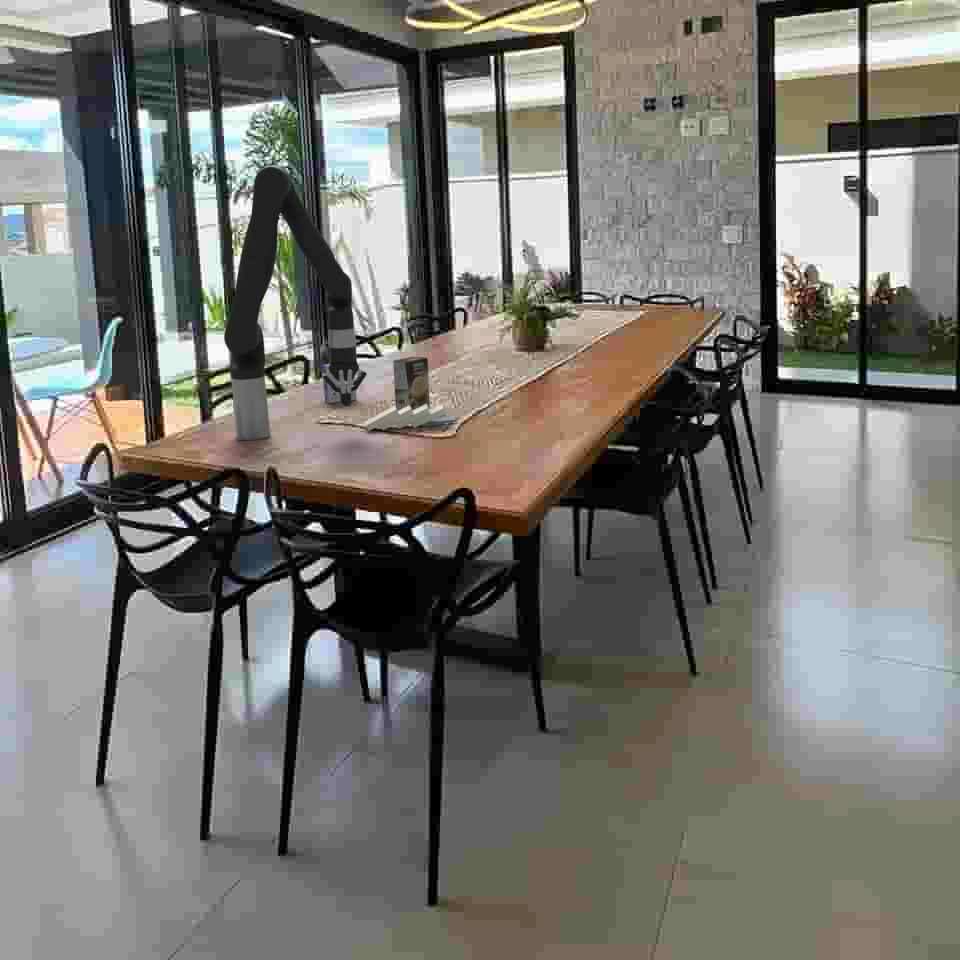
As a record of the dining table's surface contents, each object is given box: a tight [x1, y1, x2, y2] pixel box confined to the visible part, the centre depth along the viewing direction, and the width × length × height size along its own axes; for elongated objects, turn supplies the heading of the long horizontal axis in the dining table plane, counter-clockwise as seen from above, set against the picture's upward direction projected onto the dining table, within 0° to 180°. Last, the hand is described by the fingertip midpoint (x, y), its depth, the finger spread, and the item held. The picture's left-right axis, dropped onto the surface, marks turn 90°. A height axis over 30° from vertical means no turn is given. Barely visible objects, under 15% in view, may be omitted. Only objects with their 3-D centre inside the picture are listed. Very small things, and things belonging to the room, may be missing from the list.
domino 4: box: [411, 403, 447, 429], centre depth 315 cm, size 2×5×10 cm
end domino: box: [421, 415, 457, 427], centre depth 319 cm, size 2×5×10 cm
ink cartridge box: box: [321, 363, 357, 404], centre depth 356 cm, size 10×6×14 cm, turn 115°
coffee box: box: [392, 356, 431, 411], centre depth 335 cm, size 9×6×16 cm
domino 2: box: [379, 406, 414, 431], centre depth 314 cm, size 2×5×10 cm
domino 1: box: [364, 405, 400, 432], centre depth 314 cm, size 2×5×10 cm
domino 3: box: [395, 404, 430, 430], centre depth 315 cm, size 2×5×10 cm
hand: (346, 405), depth 310 cm, fingers closed
